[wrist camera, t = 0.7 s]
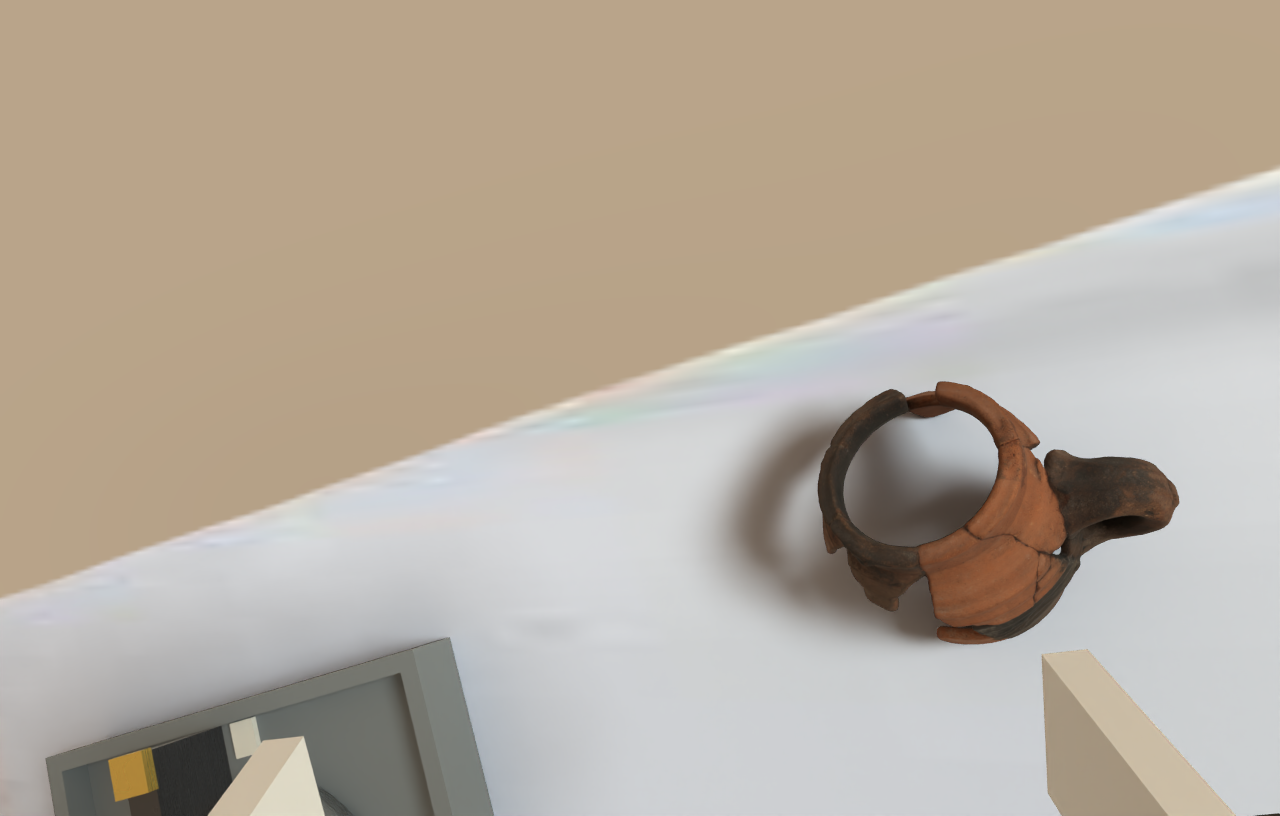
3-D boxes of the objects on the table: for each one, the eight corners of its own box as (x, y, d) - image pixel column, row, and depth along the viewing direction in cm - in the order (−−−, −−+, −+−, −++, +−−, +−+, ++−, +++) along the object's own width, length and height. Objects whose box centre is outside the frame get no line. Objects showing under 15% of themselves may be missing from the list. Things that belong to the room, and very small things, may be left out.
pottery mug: (886, 677, 37) (804, 617, 31) (862, 474, 42) (788, 390, 36) (1222, 633, 31) (1198, 549, 25) (1146, 405, 36) (1113, 291, 30)
